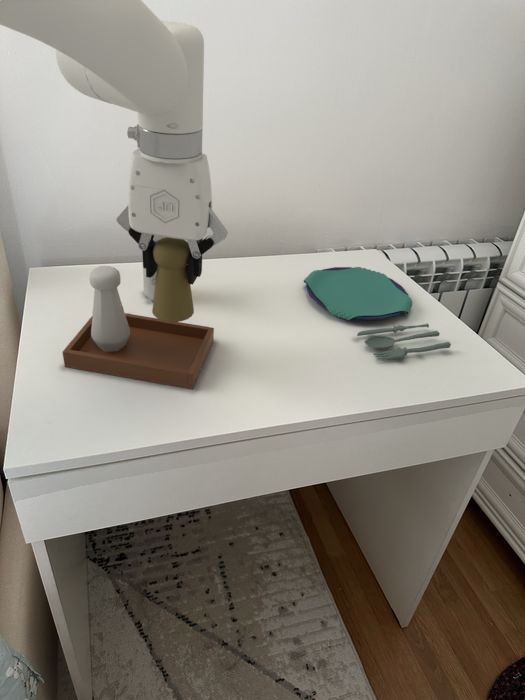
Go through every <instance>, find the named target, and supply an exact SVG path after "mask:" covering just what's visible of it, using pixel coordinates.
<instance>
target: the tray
mask: <svg viewBox="0 0 525 700" xmlns="http://www.w3.org/2000/svg"><path fill="white" fill-rule="evenodd" d="M125 316H126V319H127V322H128V325H129V328H130V336H129V338H128V340H127V342H126V345H125V346H124V347H122V348H121V349H120V350H119V351H113V352H105V351H103V350H102V349H100V348H99V347H98V346H97V345H96V343H95V342H94V340H93V339H92V336H91V328H92V317H93V315H91V317H90V318H89V319H88V320H87V322H86V323H85V324H84V325H83V326H82V328H80V330H79V331H78V332H77V334H76V335H75V336H74V337H73V338H72V340H71V341H70V342H69V343H68V344H67V346H66V347H65V348H64V349H63V351H62V357H63V358H62V359H63V364H64V368H68V369H69V368H71V369H75V370H80V371H87V372H92V373H99V374H103V375H109V376H114V377H119V378H126V379H132V380H139V381H142V382H143V381H144V382H150V383H154V384H160V385H167V386H172V387H176V388H177V387H178V388H182V389H183V388H184V389H188V390H194V388H195V385H196V384H197V381H198V379H199V376H200V374H201V372H202V370H203V367H204V365H205V363H206V360H207V358H208V356H209V353H210V351H211V349H212V346H213V345H214V344H213V343H214V339H215V337H214V335H215V328H214V327H211V326H210V327H209V326H205V325H200V324H199V325H198V324H193V323H187V322H183V321H179V322H167V321H162V320H160V319H158V318H156V317H151V316H150V317H149V316H145V315H138V314H132V313H127V312H125Z"/></svg>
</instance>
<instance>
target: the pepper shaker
mask: <svg viewBox="0 0 525 700" xmlns="http://www.w3.org/2000/svg"><path fill="white" fill-rule="evenodd" d="M190 254H191V251H190V248H189V244H188V241H187V240H182V239H175V238H168V237H166V238H162V239H160V240H158V241H157V242H156V244H155V245H154V249H153V257H154V260H155V262H156V263H157V264H158V265H157V274H156V283H155V292H154V301H152V310H151V313H152V315H153V317H154V318H157V319H160V320H162V321H167V322H183V321H186V320H189V319H190V318H191V317H192V316H193V315H194V314H195V308H194V302H193V294H192V293H193V292H192V286H191V284H189V283H188V257H189V256H190Z"/></svg>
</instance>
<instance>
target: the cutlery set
mask: <svg viewBox="0 0 525 700" xmlns="http://www.w3.org/2000/svg"><path fill="white" fill-rule="evenodd" d="M303 283H304V284H306V285H305V289H306V292H307V293H308V296H309V297H310V298H311V299H312V300H313V301H314V302H315V303H316V304H317V305H319V306H321V307H322V308H324V309H326V310H327V311H328V313H329V314H330V315H331V316H335V317H337V318H341V319H345V320H347V321H349V320H351V319H358V320H366V321H367V320H368V321H370V320H387V319H389V318H393V317H397V316H399V315H400V314H402V313H404V312H405V313H404V315H409V313H410V310H411V309H412V307H413V300H412V298H411V297H410V296H409V293H408V292H407V291H406V289H405V288H404V287H403V286H402V285H401V284H399V282H396V281H395V280H394V279H393V278H390V277H388V276H387V274H385V273H381V272H380V271H376V270H372V269H370V268H369V269H367V268H366V267H361V266H354V267H352V266H335V267H329V268H324V269H323V268H322V269H316V270H312V271H311V272H310V273H309V274H308V275H307V276H306V277H305V278H304V280H303ZM416 328H430V324H429V323H427V322H426V323H424V324H418V325H407V326H406V325H400V324H399V325H397V326H395V325H393V326H392V327H385V328H384V327H383V328H374V329H366V330H361V331H359V332H357V333H356V336H357V337H361V336H367V335H368V336H369V335H375V334H383V333H384V334H385V333H391V332H392V333H394V334H397V333H398V332H401V333H402V332H404V331H406V330H411V329H416ZM440 334H441V333H440V332H439V331H438V330H433V331H427V332H423V333H417V334H412V335H408V336H404V337H399V338H397V339H396V338H394V337H391V336H386V335H375V336H372V337H368V338H366V340H365V341H364V344H365V345H366V346H368V347H369V348H373V349H377V350H378V349H382V350H383V349H388V348H391V347H393V346H394V345H395V343H399V342H403V341H411V340H415V339H423V338H424V339H425V338H431V337H440ZM451 346H452V343H451V342H450V341H445V342H439V343H435V344H432V345H427V346H421V347H412V348H411V347H410V348H407V347H406V346H404V347H403V348H402V347H399V346H398V347H396V348H393V349H389V350H386V351H382V352H381V351H380V352H377V353H373V354H372V355H373V356H374V357H375V358H376V360H379V361H380V360H391V359H403V358H404V357H405V356H407V355H408V354H412V353H415V354H416V353H426V352H431V351H436V350H442V349H450V348H451Z"/></svg>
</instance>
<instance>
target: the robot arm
mask: <svg viewBox="0 0 525 700" xmlns="http://www.w3.org/2000/svg"><path fill="white" fill-rule="evenodd" d="M158 17H159V16H157V15H156V14H155V13H154V12H153V11H152V9H150V8H149V7H148V6H147V5H146V4H145V2H143V0H0V26H3V27H6V28H8V29H10V30H13V31H14V32H15V31H16V32H18V33H20V34H23V35H26V36H27V37H29V38H33V39H34V40H37V41H39V42H41V43H43V44H45V45H47V46H49V47H51V48H53V49H55V57H56V59H55V60H56V63H57V67H58V69H59V71H60V74H61V75H62V76H63V78H64V80H65V81H66V82H67V83H68V84H69V85H70V86H71V87H72V88H73V89H75V90H76V91H78V92H79V93H81V94H83V95H84V96H87V97H89V98H92V99H95V100H97V101H101V102H104V103H107V104H111V105H114V106H118V107H121V108H124V109H127V110H131V111H133V112H136V113H137V124H136V126H128V127H127V133H126V134H127V138H128V139H131V140H134V141H136V143H137V149H135V150H133V151H132V153H131V161H130V167H129V177H128V178H129V179H128V180H129V181H128V200H127V201H128V204H127V206H126V207H125V208H124V209H123V210H122V211H121V213H119V215H118V216H117V217H116V219H115V221H116V223H117V224H118V225H120V227H121V228H123V229H124V231H127V232H128V235H129V236H130V237H131V238H132V239H133V240H134V241H135V243H136V244H137V247H138V249H139V250H140V251H141V254H142V255H143V258H142V269H143V268H146V277H148V278H151V277H152V276H153V275H154V274H155V272H156V271H157V265H158V264H157V263H156V262H155V260H154V257H153V249H154V245H155V244H156V243H155V241H154V237H155V236H162V237H168V238H175V239H182V240H185V241H187V242H188V244H189V248H190V251H191V254H190V256H189V257H188V283H189V284H190V285H194V283H195V281H196V280H197V278H200V277H201V275H202V273H203V255H204V254H206V253H207V252H208V251H209V250H211V249H212V248H213V247H214V246H216V245H218V244H219V243H221V242H222V241H223V240H225V239H226V238H227V236H228V234H229V231H228V229H227V228H226V227H225V225H224V224H223V223H222V221H221V220H220V219H219V217H218V215H216V212H214V211H213V193H212V182H211V181H212V179H211V173H210V165H209V160H208V155H206V153H203V129H204V128H203V127H204V78H205V77H204V74H205V73H204V71H205V39H204V37H203V33H202V31H201V30H199V28H198V27H196V26H194V25H192V24H188V23H183V22H178V21H168V20H167V21H166V20H161V19H159V18H158ZM209 228H210V230H211V231H212V233H211V234H209V235H208V236H206V235H207V232H208V229H209ZM205 236H206V237H205ZM142 255H141V256H142Z"/></svg>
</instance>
